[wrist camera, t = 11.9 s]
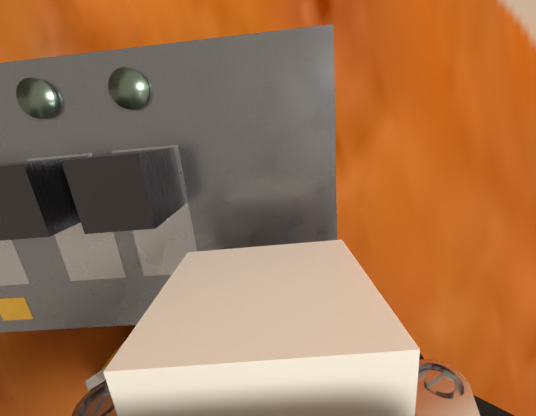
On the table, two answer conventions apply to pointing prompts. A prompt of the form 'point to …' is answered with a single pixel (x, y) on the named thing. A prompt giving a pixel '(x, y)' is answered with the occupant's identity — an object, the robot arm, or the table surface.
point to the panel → (222, 150)
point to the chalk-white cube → (267, 340)
